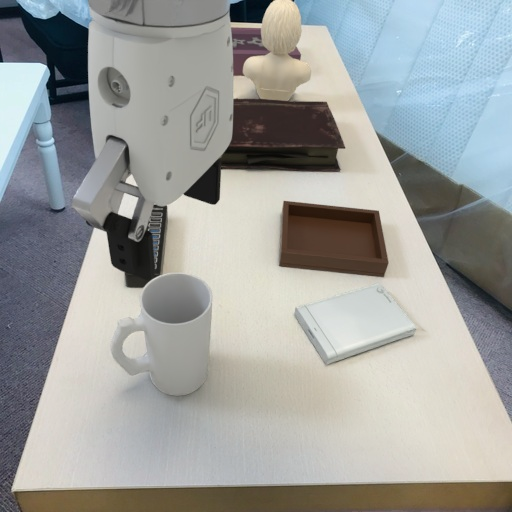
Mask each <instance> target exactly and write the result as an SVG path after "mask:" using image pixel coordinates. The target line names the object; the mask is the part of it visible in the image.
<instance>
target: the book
mask: <svg viewBox="0 0 512 512" xmlns="http://www.w3.org/2000/svg"><path fill="white" fill-rule="evenodd" d="M231 34H232V47H233V76H245V75H244V74H243V66H244V63H245V61H246V60H247V59H248V58H250V57H253V56H262V55H263V56H264V55H267V54H268V53H270V52H271V51H269V50H267V48H266V47H264V45H263V43H262V37H261V27H239V26H237V27H235V26H231ZM288 55H289V56H290V57H292V58H293V59H298V60H300V61H301V59H302V58H301V57H302V54H301V52H300V50H299V48H298V47H297V46H296V48H295V50H294V51H292V52H290V53H288Z"/></svg>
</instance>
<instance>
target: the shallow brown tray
mask: <svg viewBox="0 0 512 512" xmlns="http://www.w3.org/2000/svg"><path fill="white" fill-rule="evenodd" d="M278 261H279V262H278V266H279V267H284V268H285V267H286V268H295V269H303V270H314V271H315V270H316V271H323V272H333V273H340V274H341V273H343V274H350V275H351V274H352V275H361V276H372V277H379V278H384V277H385V276H386V272H387V269H388V266H389V258H388V253H387V247H386V242H385V237H384V231H383V225H382V221H381V215H380V210H375V209H367V208H357V207H347V206H338V205H328V204H318V203H310V202H309V203H308V202H300V201H289V200H283V201H282V208H281V217H280V238H279V259H278Z"/></svg>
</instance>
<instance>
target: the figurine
mask: <svg viewBox="0 0 512 512" xmlns="http://www.w3.org/2000/svg"><path fill="white" fill-rule="evenodd" d="M262 17H263V18H262V21H261V27H260V28H261V37H262V43H263V45H264V47H266V48H267V50H269V51H271V52H270V53H268V54H267V55H264V56H263V55H262V56H253V57H250V58H248V59H247V60H246V61H245V63H244V66H243V74H244V75H243V76H244V77H246V78H247V79H249V80H250V81H251V82H252V84H253V85H254V87H255V91H256V93H257V95H258V97H259V99H268V100H282V101H290V99H291V98H292V96H293V95H294V93H295V92H296V90H297V88H298V87H300V86H301V85H304V84H305V83H308V82H310V80H311V79H312V68H311V66H310V65H309V63H307V62H306V61H304V60H301V59H300V60H298V59H293V58H292V57H290V56H289V55H288V53H290V52H292V51H294V50H295V48H296V47H297V45H298V44H299V42H300V39H301V36H302V32H303V29H302V16H301V12H300V9H299V7H298V5H297V4H296V3H295V2H294V1H293V0H273V1H272V2H270V4H269V5H268V7H267V8H266V10H265V13H264V14H263V16H262Z"/></svg>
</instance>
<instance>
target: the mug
mask: <svg viewBox="0 0 512 512" xmlns="http://www.w3.org/2000/svg"><path fill="white" fill-rule="evenodd" d="M213 299H214V298H213V290H212V289H211V286H210V285H209V284H208V283H207V282H206V281H205V280H203V279H202V278H201V277H199V276H197V275H195V274H192V273H189V272H179V271H178V272H177V271H175V272H167V273H162V275H160V276H158V277H156V278H154V279H152V280H151V281H150V282H148V283H147V284H146V285H145V287H142V290H141V292H140V294H139V298H138V302H139V307H140V314H139V315H138V316H136V317H134V318H133V317H125V318H124V317H123V318H119V319H118V320H117V326H116V328H115V330H114V333H113V335H112V338H111V342H110V352H111V356H112V359H114V361H115V362H116V364H118V366H119V367H120V368H122V370H124V371H125V372H126V373H127V374H128V375H129V376H131V377H133V376H137V375H139V374H143V373H148V372H149V375H150V379H151V382H152V384H153V385H154V386H155V388H156V389H157V390H158V391H160V392H162V393H163V394H166V395H169V396H174V397H179V396H180V397H181V396H187V395H189V394H192V393H194V392H195V391H197V390H198V389H200V388H201V387H202V386H203V385H204V383H205V381H206V380H207V377H208V373H209V364H210V363H209V362H210V346H211V332H212V318H213V317H212V316H213V315H212V314H213ZM141 331H142V332H143V333H144V340H145V341H144V342H145V348H146V349H145V351H146V352H145V354H144V355H142V356H139V357H137V358H132V357H129V356H127V355H126V354H125V353H124V352H123V344H124V342H125V340H127V338H128V337H129V336H130V335H131V334H134V333H136V332H141Z"/></svg>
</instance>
